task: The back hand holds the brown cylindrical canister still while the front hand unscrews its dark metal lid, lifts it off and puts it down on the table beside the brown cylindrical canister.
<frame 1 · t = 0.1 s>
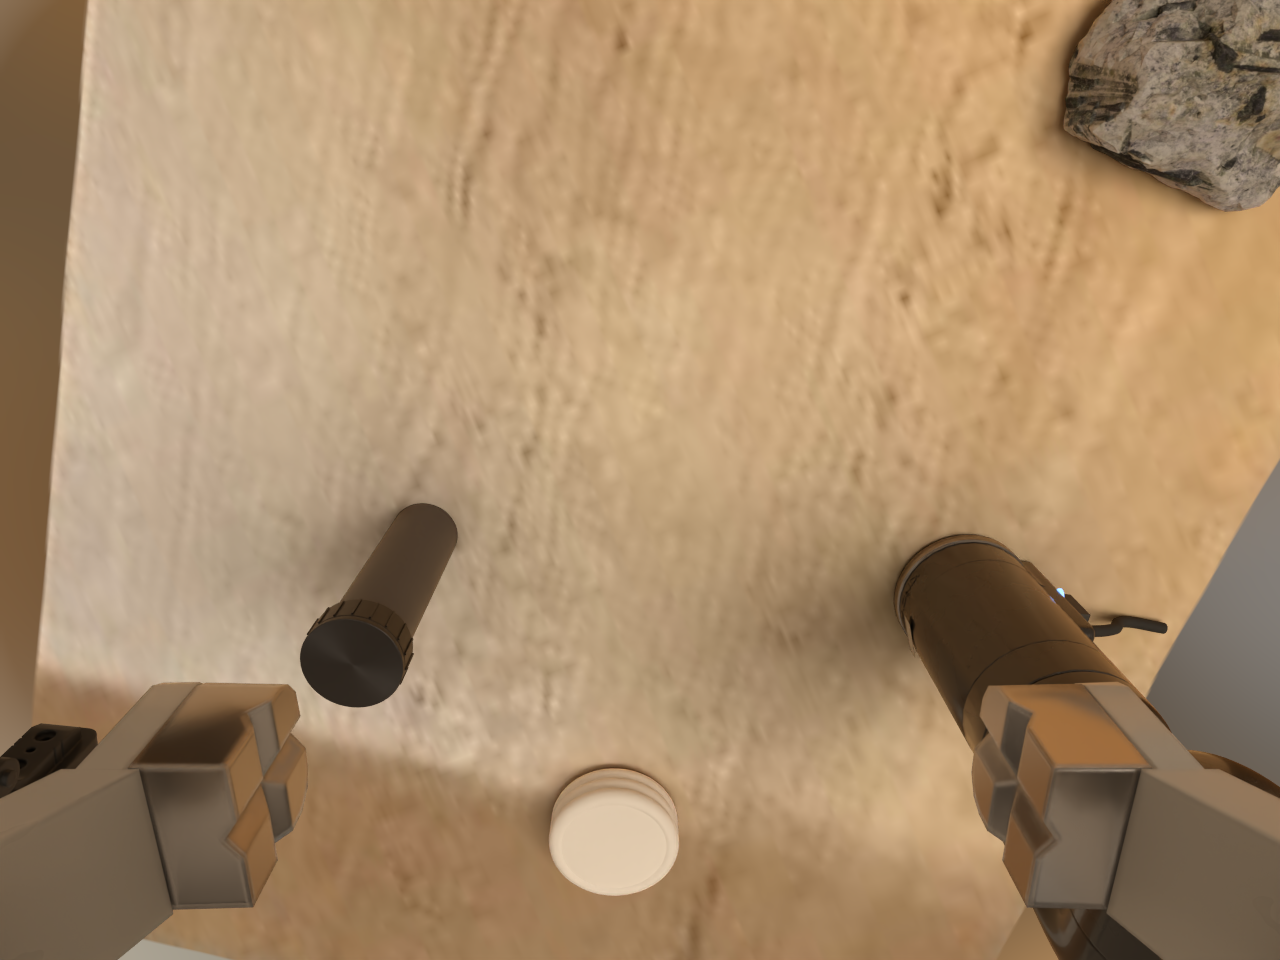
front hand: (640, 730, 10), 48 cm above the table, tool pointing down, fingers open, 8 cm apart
cream short cylinder: (615, 814, 71), on the table
brown cylindrical canister: (425, 533, 62), on the table
lid: (353, 660, 46), point 17 cm above the table, screwed on, not yet turned
rock: (1181, 93, 52), on the table
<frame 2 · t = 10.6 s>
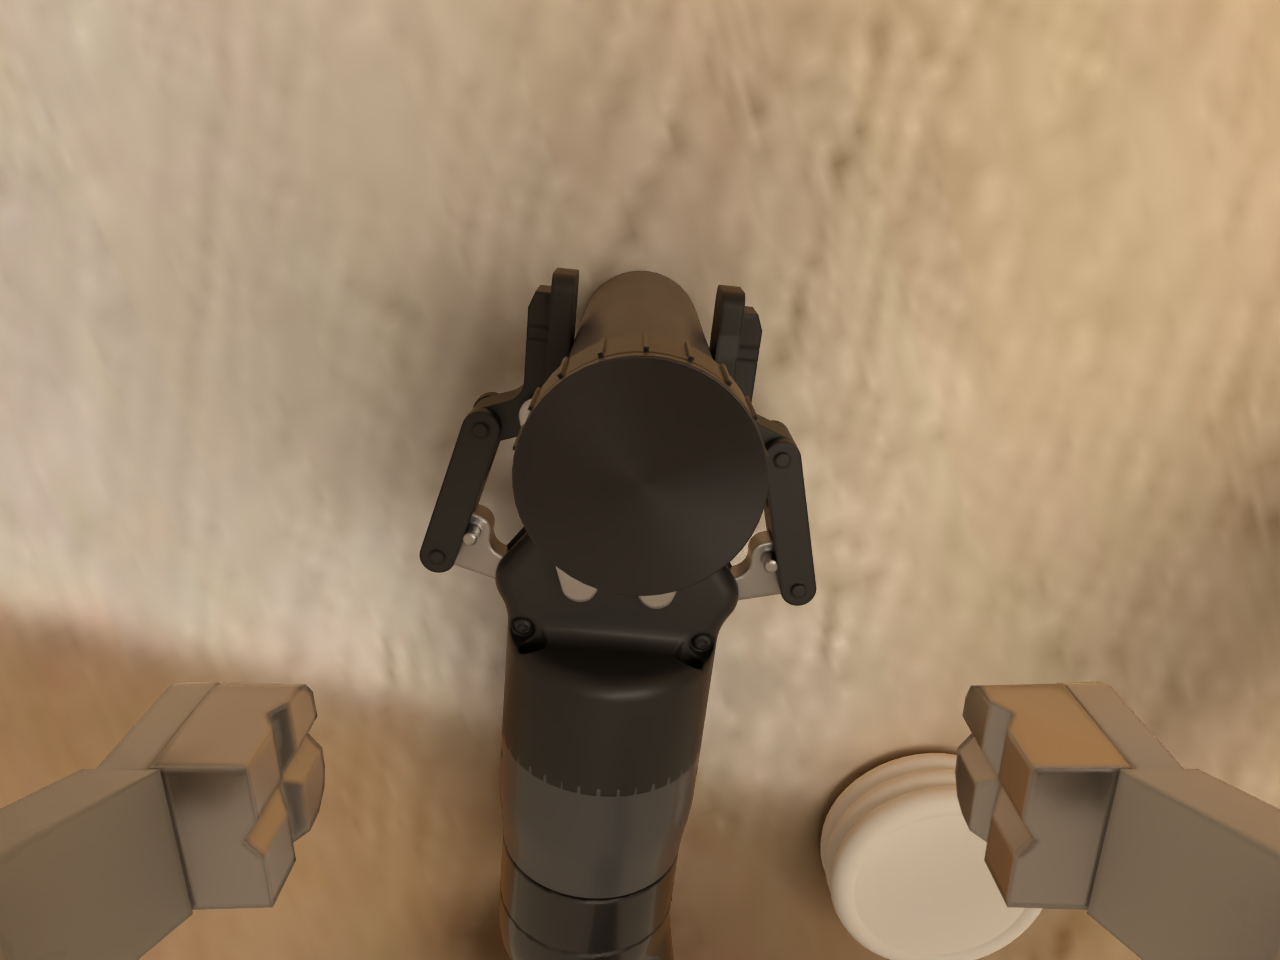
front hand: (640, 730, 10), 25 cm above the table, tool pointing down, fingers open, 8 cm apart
back hand: (648, 282, 28), fingers closed on brown cylindrical canister, 4 cm apart
cream short cylinder: (920, 830, 43), on the table
brown cylindrical canister: (640, 330, 34), on the table, touching back hand
lid: (640, 476, 19), point 17 cm above the table, screwed on, not yet turned
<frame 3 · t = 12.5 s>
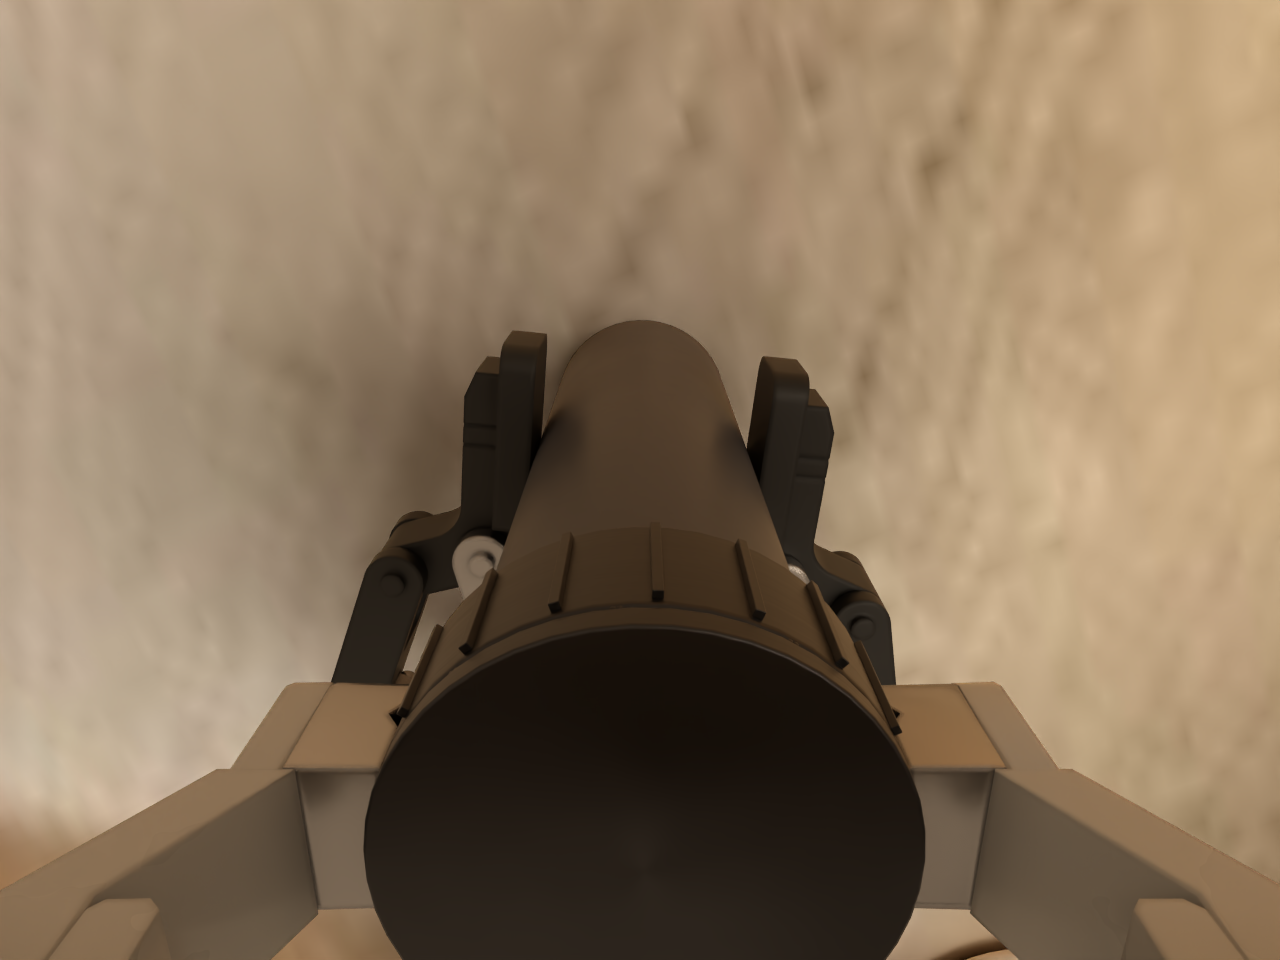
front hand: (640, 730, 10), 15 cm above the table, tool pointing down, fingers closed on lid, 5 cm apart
brown cylindrical canister: (641, 402, 24), on the table, touching back hand
lid: (644, 845, 9), point 17 cm above the table, screwed on, not yet turned, touching front hand
when the front hand's fingers open (15 cm above the table, at t = 13.8 s): lid stays where it is, point 17 cm above the table.
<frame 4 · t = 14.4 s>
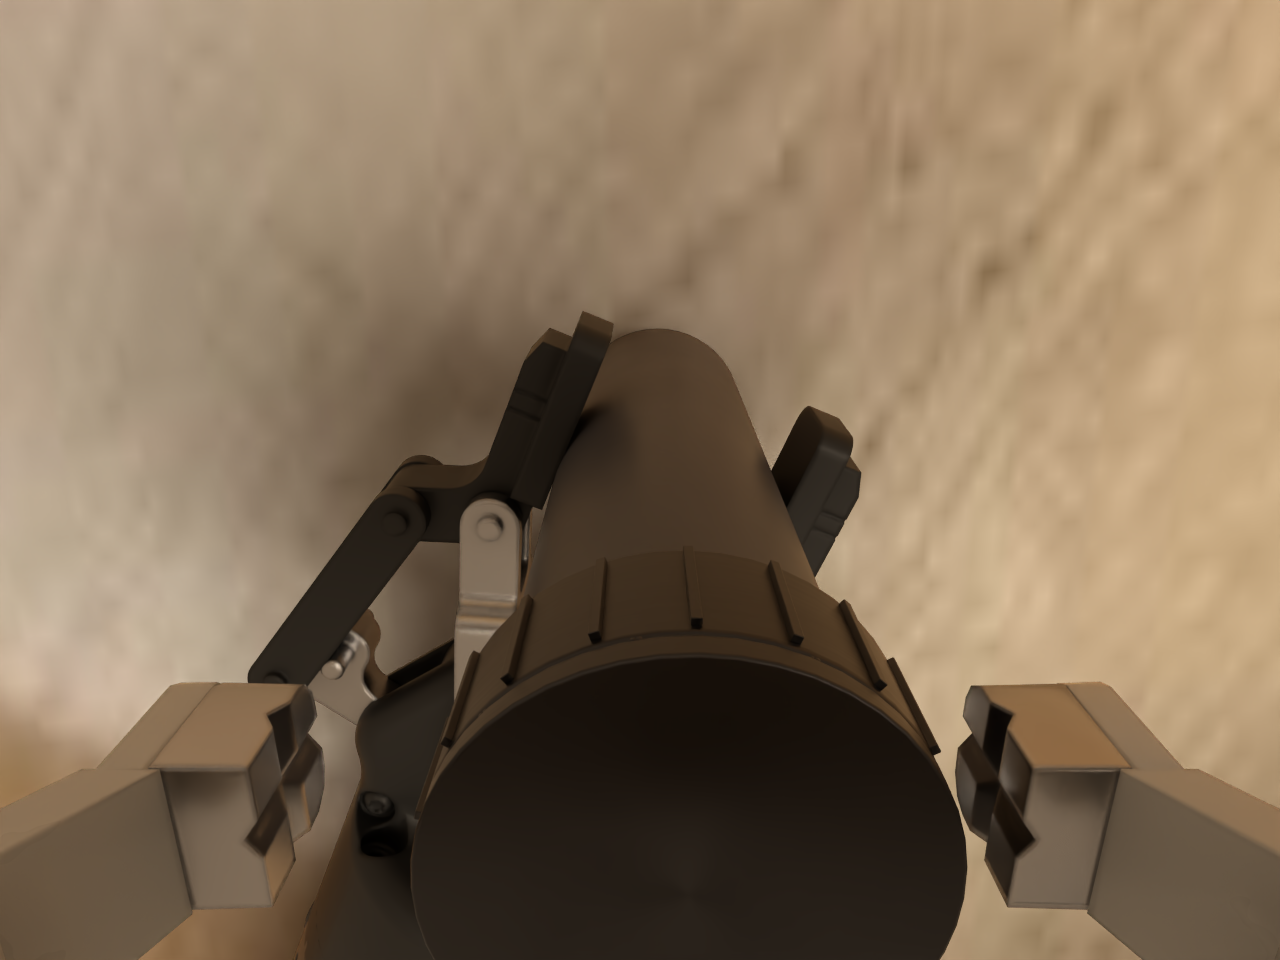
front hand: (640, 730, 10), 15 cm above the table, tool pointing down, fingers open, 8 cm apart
brown cylindrical canister: (657, 409, 24), on the table, touching back hand
lid: (686, 867, 9), point 17 cm above the table, turned 58° so far, risen 0.2 cm, still on its thread
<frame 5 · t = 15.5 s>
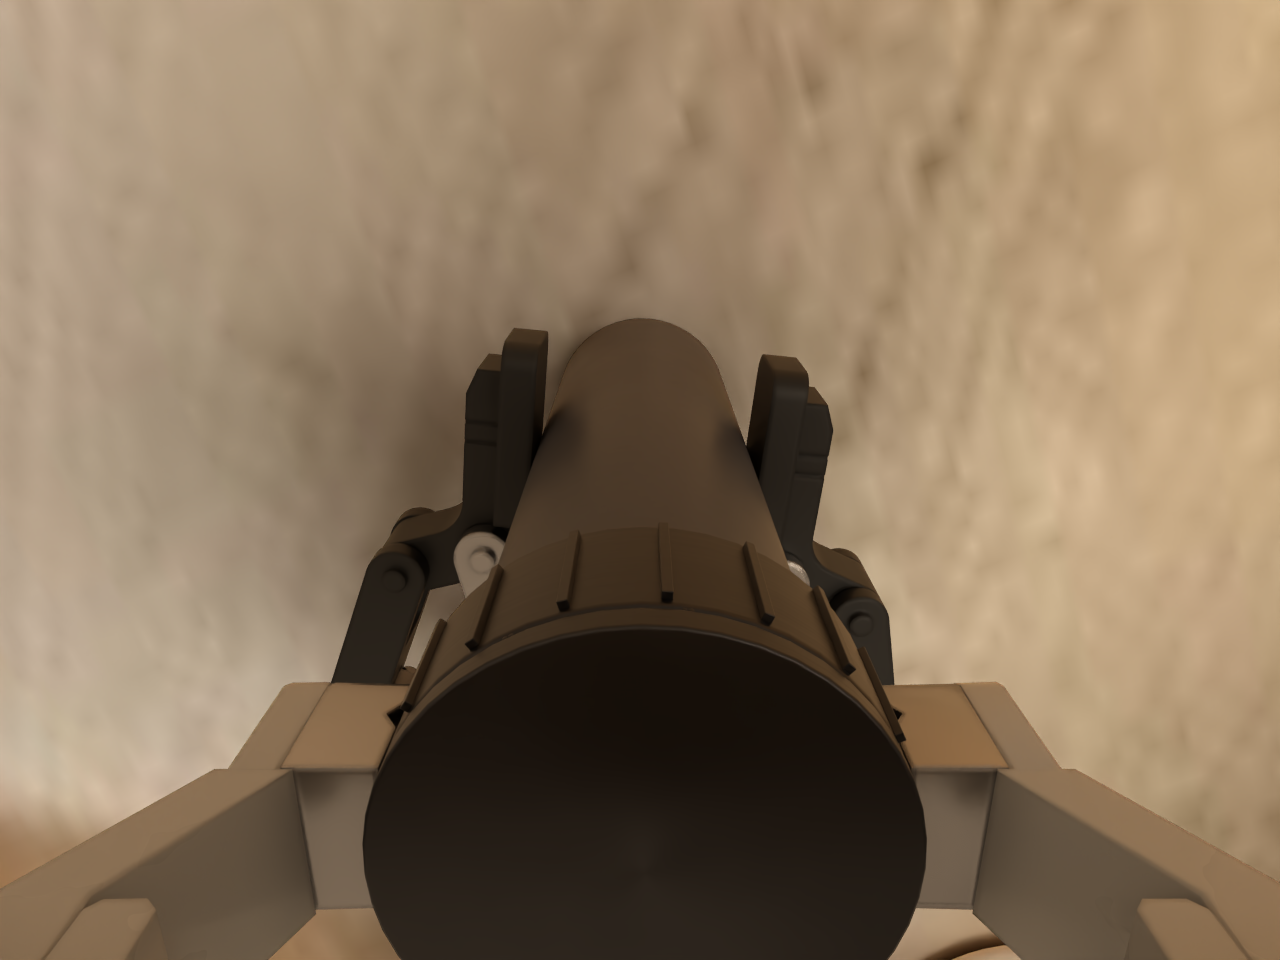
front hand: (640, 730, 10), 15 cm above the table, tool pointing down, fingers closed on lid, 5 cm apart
brown cylindrical canister: (641, 400, 24), on the table, touching back hand
lid: (644, 846, 9), point 17 cm above the table, turned 58° so far, risen 0.2 cm, still on its thread, touching front hand
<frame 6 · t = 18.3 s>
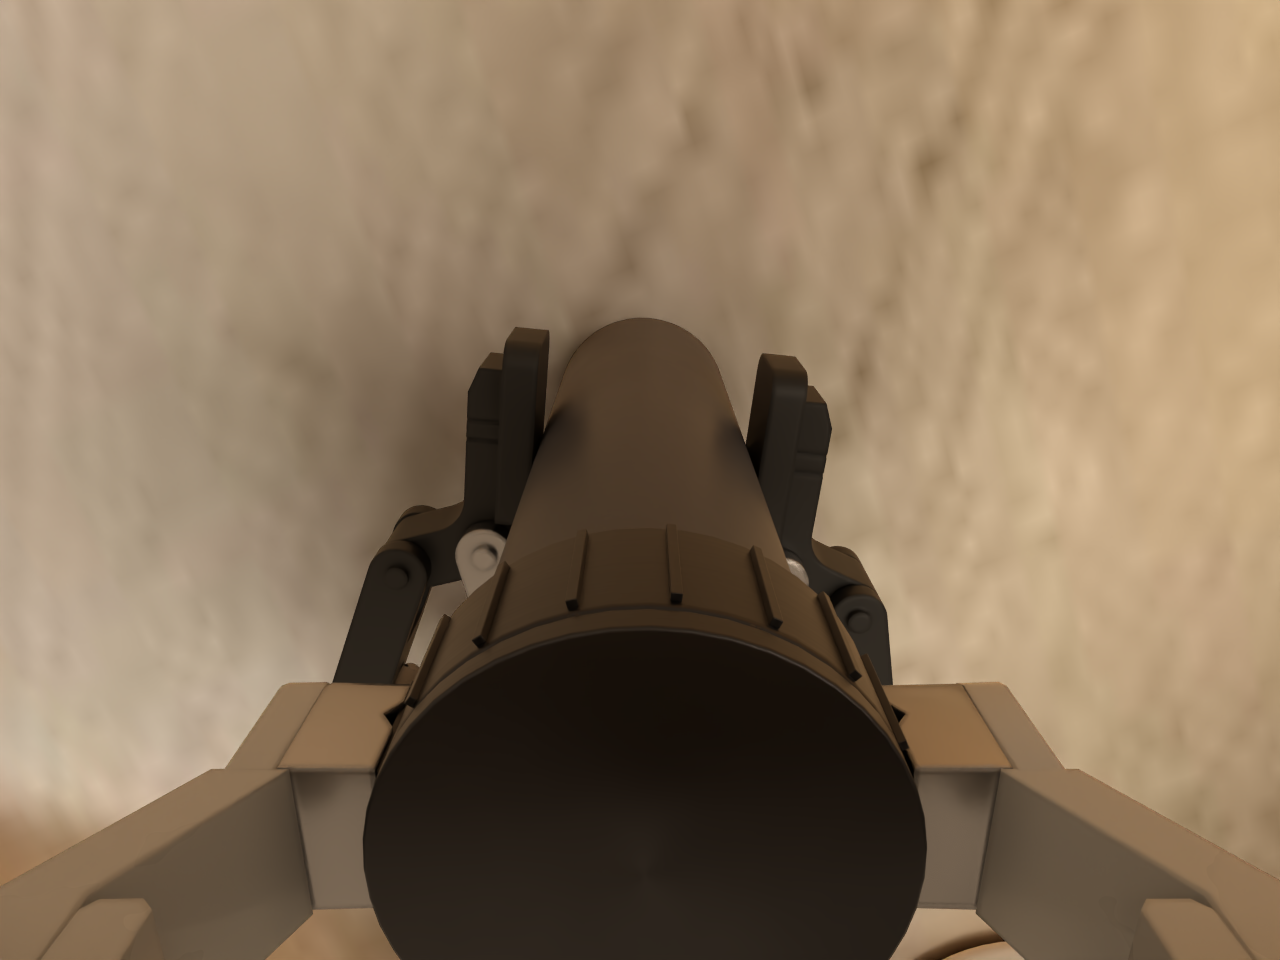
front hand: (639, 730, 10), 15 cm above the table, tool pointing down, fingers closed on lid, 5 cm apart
brown cylindrical canister: (642, 399, 25), on the table, touching back hand
lid: (644, 847, 9), point 17 cm above the table, turned 117° so far, risen 0.3 cm, still on its thread, touching front hand
when the front hand's fingers open (2 cm above the table, at t = 24.5 s): lid drops 2 cm, point 2 cm above the table.
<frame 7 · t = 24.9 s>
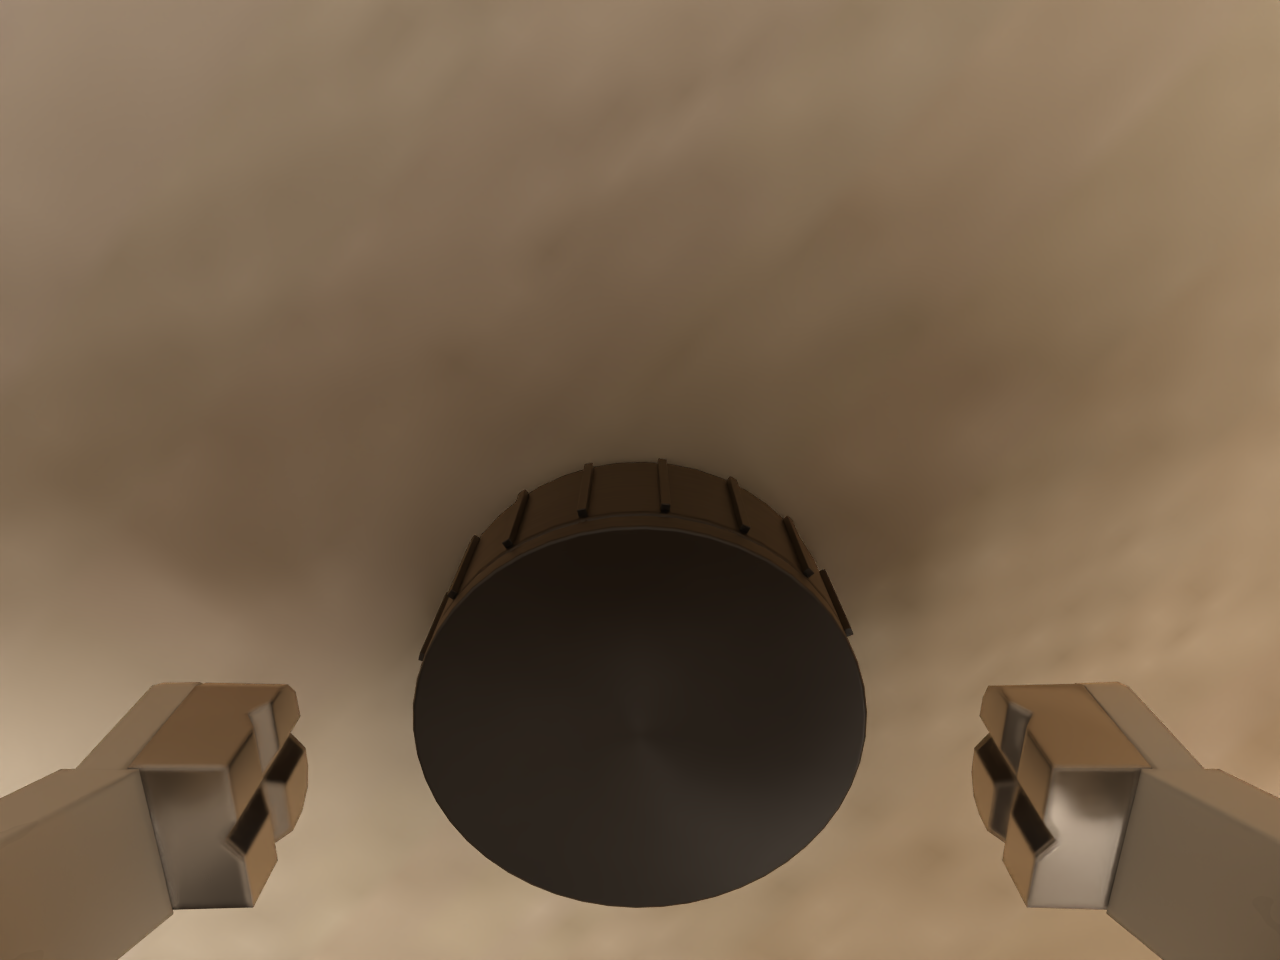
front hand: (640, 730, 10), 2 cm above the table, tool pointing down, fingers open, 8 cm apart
lid: (639, 717, 11), point 2 cm above the table, off its thread
when the back hand's fingers open (6 cm above the table, at t = 25.5 s): brown cylindrical canister stays where it is, on the table.
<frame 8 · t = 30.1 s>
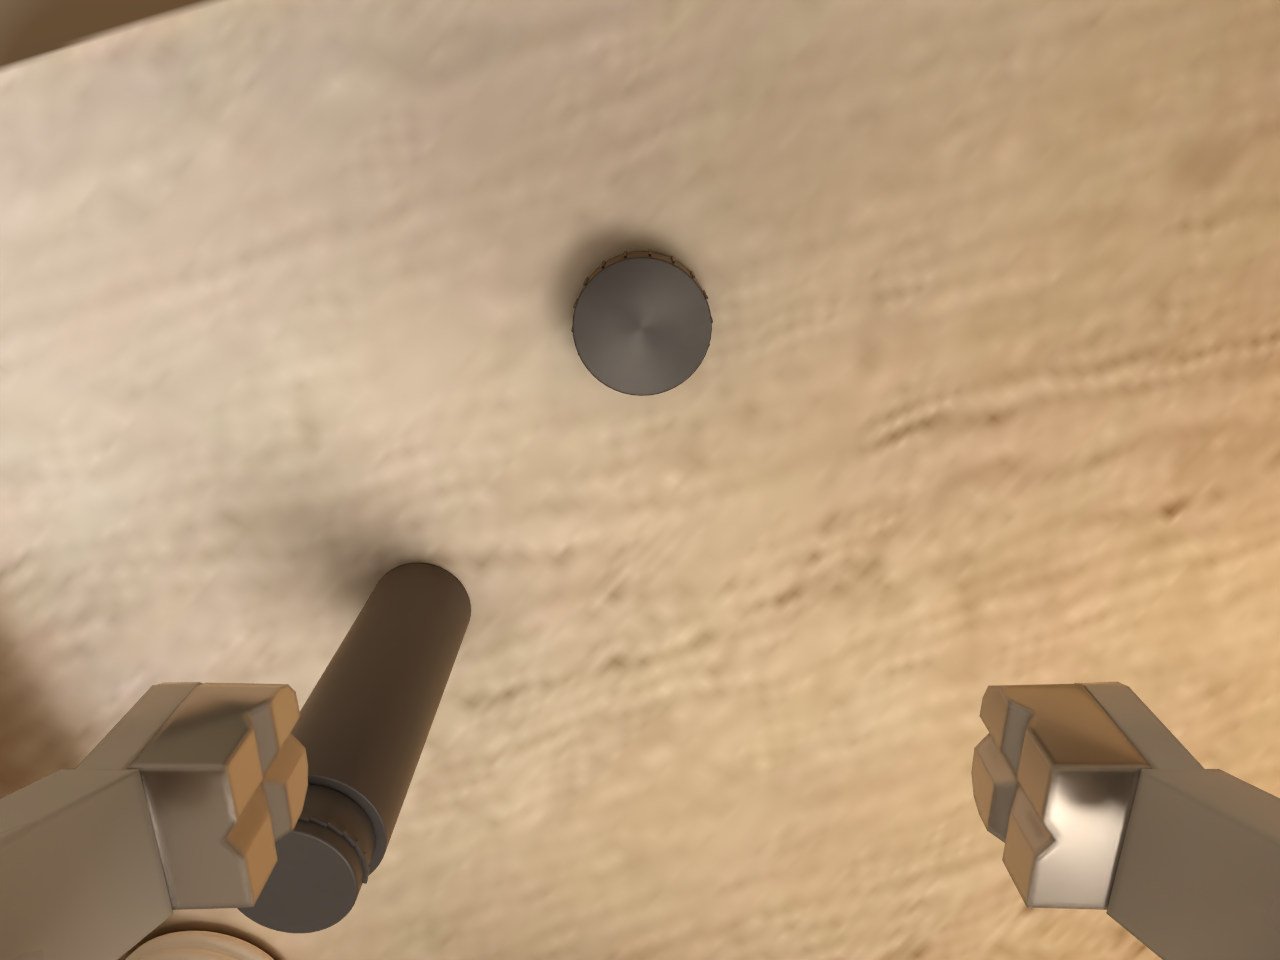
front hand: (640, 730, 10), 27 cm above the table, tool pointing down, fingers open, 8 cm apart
brown cylindrical canister: (422, 606, 41), on the table
lid: (642, 326, 34), point 2 cm above the table, off its thread
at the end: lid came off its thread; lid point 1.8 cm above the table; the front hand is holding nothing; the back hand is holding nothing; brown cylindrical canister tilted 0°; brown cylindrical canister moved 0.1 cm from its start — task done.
